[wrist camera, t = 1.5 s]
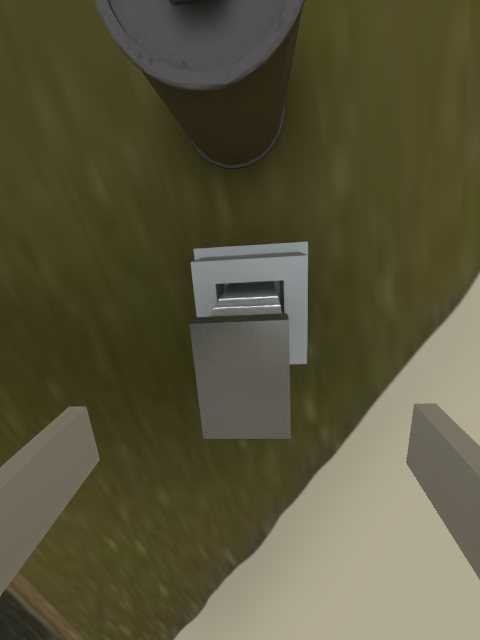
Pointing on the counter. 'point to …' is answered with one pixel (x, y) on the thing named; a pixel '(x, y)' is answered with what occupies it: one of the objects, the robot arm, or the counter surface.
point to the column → (243, 364)
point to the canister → (213, 66)
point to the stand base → (255, 266)
